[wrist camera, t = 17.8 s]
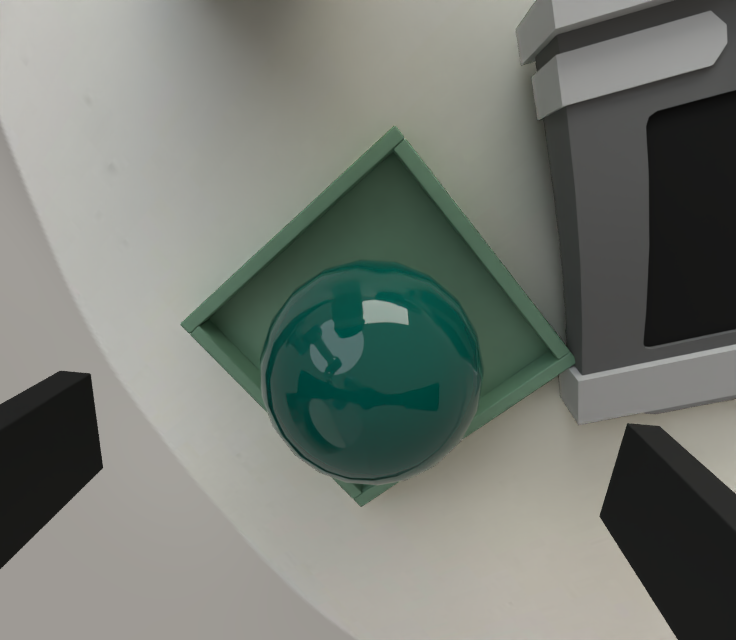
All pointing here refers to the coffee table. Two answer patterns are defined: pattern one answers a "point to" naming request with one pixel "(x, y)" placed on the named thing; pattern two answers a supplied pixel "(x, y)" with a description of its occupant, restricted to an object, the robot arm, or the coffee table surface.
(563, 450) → the coffee table surface
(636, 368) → the alarm clock
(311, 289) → the sphere
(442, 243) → the tray
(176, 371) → the coffee table surface
